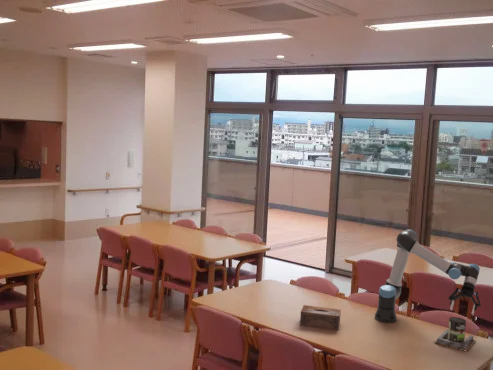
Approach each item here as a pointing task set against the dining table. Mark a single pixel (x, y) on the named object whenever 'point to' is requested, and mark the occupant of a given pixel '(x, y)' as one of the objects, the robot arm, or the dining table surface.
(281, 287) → the dining table surface
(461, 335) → the coffee can
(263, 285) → the dining table surface
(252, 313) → the dining table surface
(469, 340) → the rail dock
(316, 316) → the tissue box cover
